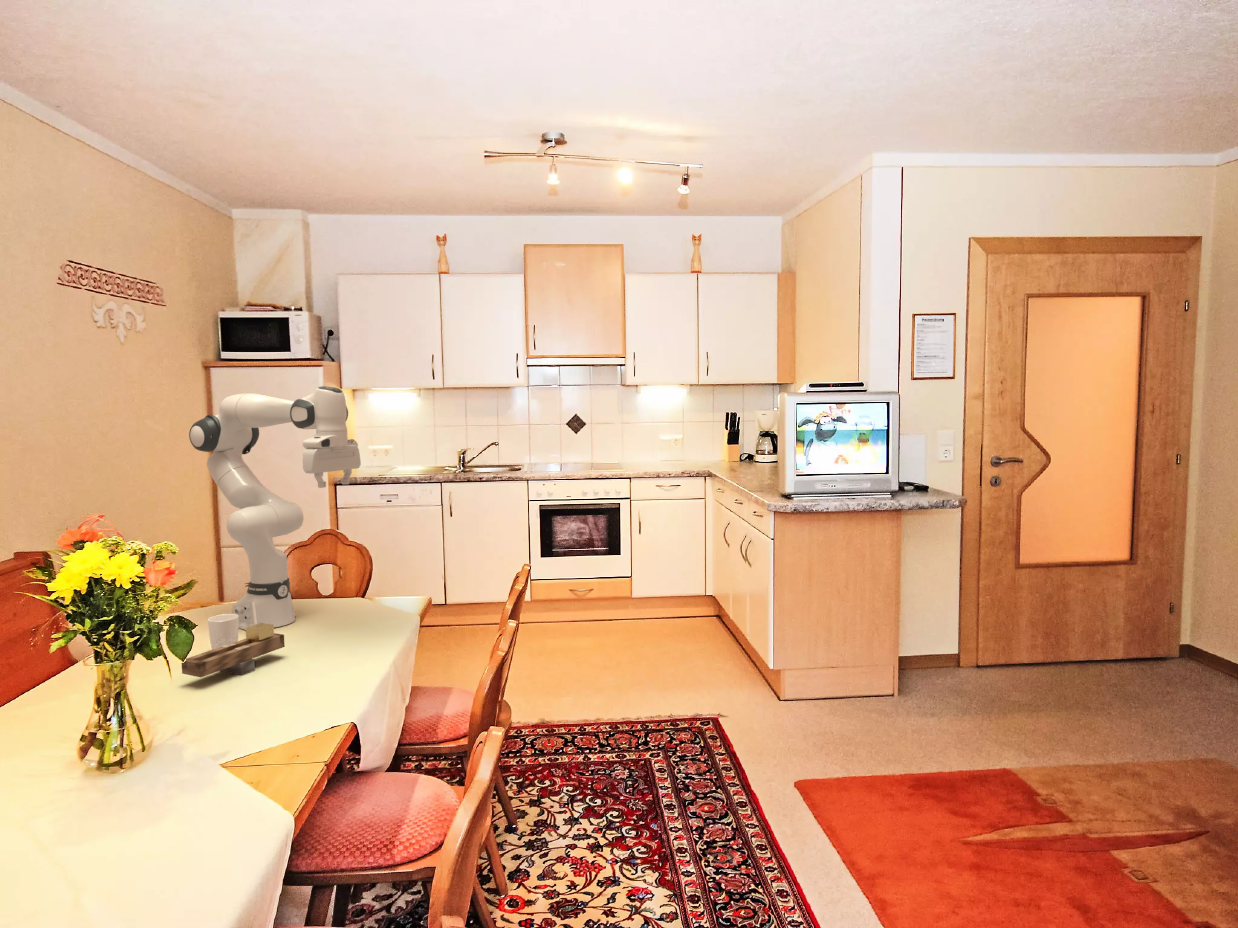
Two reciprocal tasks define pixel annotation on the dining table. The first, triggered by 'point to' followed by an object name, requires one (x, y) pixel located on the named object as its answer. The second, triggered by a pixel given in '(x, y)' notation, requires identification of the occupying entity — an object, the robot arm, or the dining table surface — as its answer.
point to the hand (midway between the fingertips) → (333, 485)
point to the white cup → (223, 630)
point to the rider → (259, 632)
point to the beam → (231, 657)
